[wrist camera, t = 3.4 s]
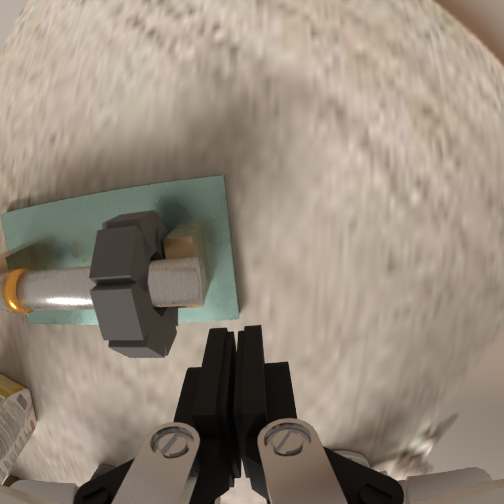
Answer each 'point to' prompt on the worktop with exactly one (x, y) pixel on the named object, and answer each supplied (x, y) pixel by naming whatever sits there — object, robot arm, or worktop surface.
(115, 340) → the ring
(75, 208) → the teal plate with rod
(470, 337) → the worktop surface
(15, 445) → the juice carton
